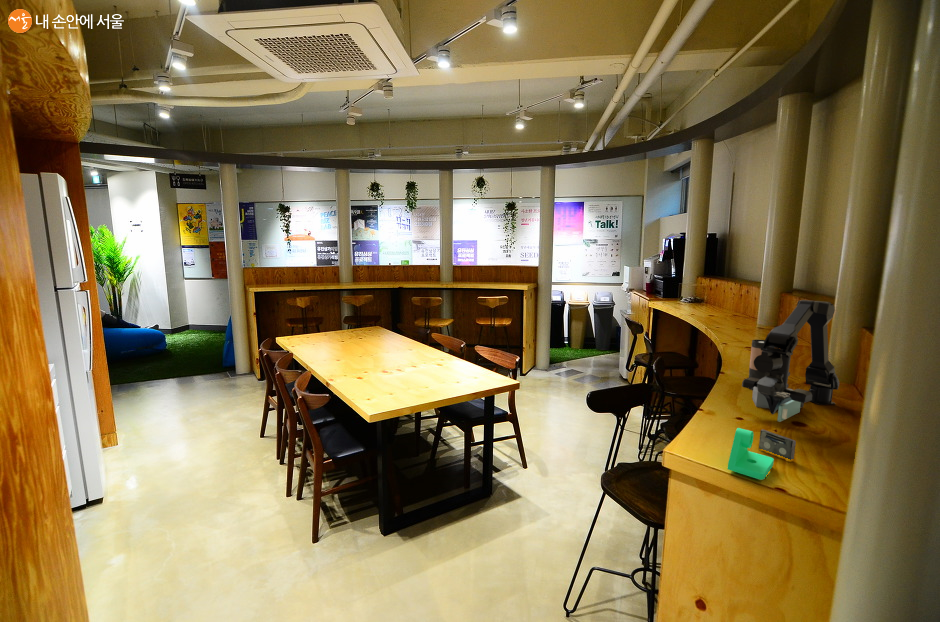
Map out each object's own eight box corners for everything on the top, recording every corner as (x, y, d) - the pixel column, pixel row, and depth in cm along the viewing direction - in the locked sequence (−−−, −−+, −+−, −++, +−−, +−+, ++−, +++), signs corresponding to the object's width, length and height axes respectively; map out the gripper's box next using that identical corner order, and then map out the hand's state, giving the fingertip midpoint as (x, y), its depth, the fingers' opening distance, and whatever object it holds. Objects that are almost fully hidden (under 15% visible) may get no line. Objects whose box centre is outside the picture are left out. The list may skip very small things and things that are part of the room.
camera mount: (762, 484, 106) (766, 444, 104) (727, 473, 111) (730, 434, 109) (773, 467, 114) (777, 430, 112) (740, 457, 119) (743, 421, 118)
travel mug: (749, 390, 177) (754, 342, 174) (745, 385, 184) (750, 338, 181) (772, 393, 174) (777, 343, 171) (767, 387, 181) (772, 340, 178)
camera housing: (798, 404, 161) (799, 389, 160) (805, 413, 152) (806, 398, 151) (752, 398, 167) (753, 384, 167) (756, 406, 158) (757, 392, 158)
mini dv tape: (793, 461, 117) (795, 440, 116) (790, 462, 116) (792, 441, 116) (761, 449, 124) (763, 428, 124) (758, 450, 124) (760, 429, 123)
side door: (797, 411, 153) (798, 397, 152) (803, 412, 151) (804, 398, 151) (777, 421, 144) (778, 405, 143) (783, 422, 142) (785, 407, 142)
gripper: (736, 365, 148) (731, 409, 150) (799, 379, 132) (793, 428, 135) (752, 361, 154) (747, 403, 156) (816, 374, 138) (809, 421, 140)
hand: (772, 413), depth 147 cm, fingers closed
